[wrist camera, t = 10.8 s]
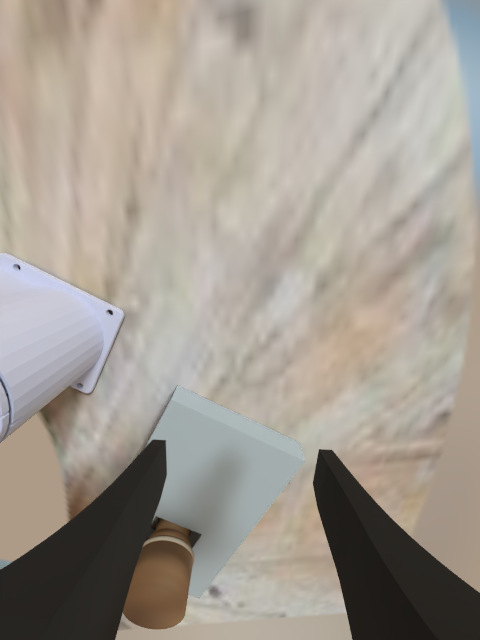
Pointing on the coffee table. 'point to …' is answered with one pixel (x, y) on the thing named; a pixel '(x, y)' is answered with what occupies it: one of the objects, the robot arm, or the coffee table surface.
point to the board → (219, 477)
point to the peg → (161, 578)
